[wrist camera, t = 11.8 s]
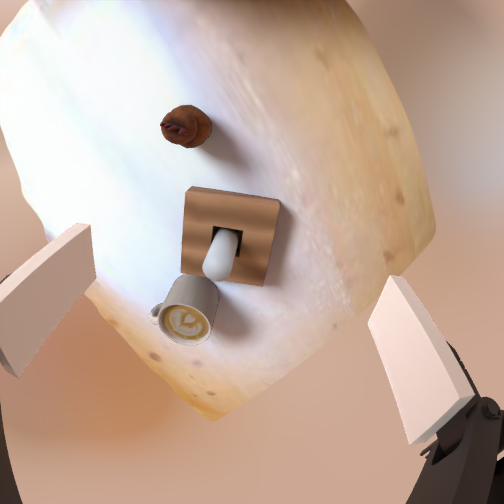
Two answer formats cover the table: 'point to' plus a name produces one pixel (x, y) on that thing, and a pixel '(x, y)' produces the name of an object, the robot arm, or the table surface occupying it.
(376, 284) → the table surface
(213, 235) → the bore block
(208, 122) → the wooden figurine
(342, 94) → the table surface
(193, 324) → the coffee mug
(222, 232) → the peg
